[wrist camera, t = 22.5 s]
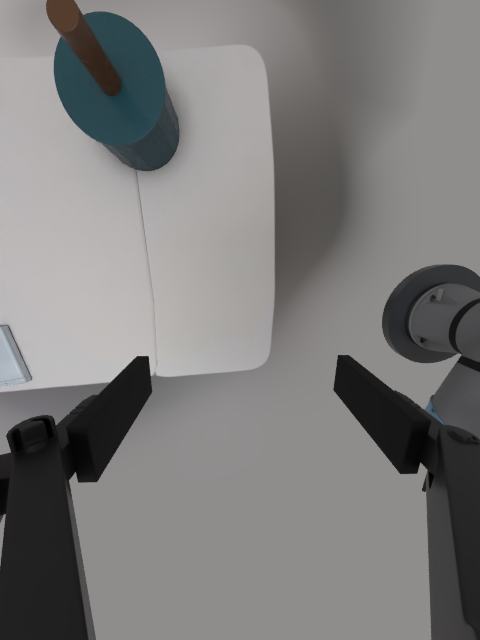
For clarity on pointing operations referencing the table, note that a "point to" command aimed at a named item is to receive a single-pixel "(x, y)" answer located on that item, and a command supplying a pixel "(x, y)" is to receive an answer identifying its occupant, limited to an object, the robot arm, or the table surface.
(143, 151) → the pot
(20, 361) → the hard drive
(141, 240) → the table surface
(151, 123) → the lid
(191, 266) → the table surface
